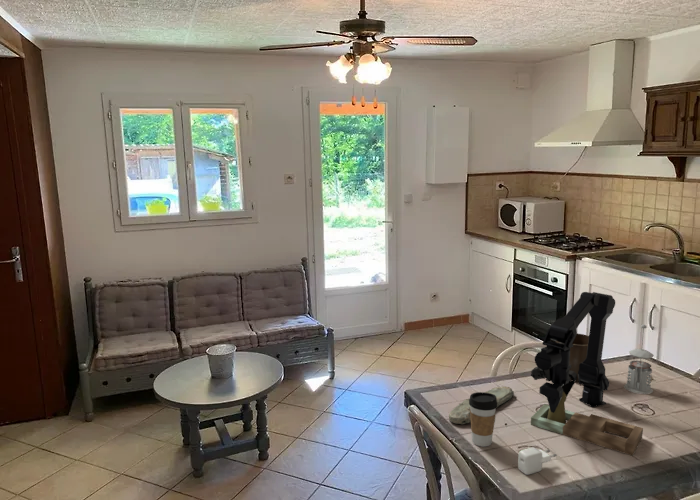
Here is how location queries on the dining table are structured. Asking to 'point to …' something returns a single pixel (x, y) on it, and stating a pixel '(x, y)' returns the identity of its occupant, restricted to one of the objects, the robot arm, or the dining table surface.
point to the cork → (559, 411)
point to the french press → (639, 371)
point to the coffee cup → (482, 417)
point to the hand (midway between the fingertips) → (557, 407)
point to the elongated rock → (463, 410)
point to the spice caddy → (592, 430)
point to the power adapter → (533, 460)
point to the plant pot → (578, 352)
